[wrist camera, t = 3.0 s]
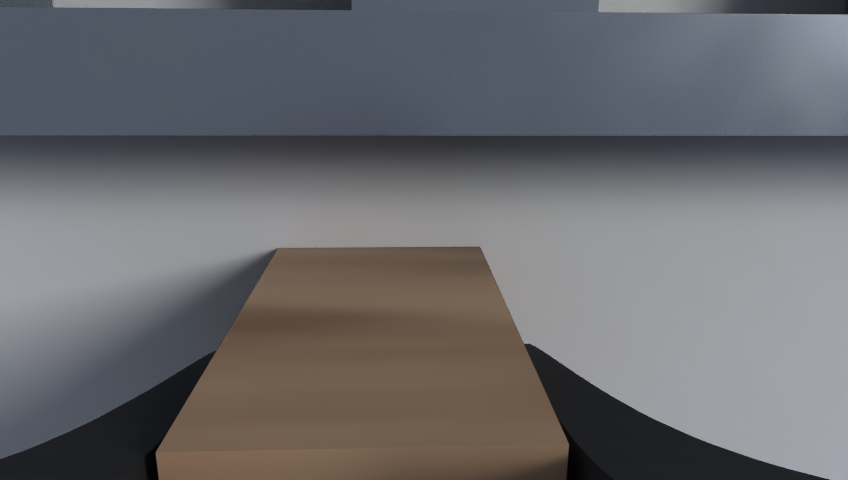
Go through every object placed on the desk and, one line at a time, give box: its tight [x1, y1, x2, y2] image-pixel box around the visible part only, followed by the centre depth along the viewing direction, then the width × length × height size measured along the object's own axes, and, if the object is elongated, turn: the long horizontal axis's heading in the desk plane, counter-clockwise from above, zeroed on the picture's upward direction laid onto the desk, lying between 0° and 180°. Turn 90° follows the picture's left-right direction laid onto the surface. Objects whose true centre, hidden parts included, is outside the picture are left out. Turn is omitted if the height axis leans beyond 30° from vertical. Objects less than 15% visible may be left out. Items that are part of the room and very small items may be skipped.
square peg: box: [156, 247, 569, 480], centre depth 10 cm, size 4×4×7 cm
